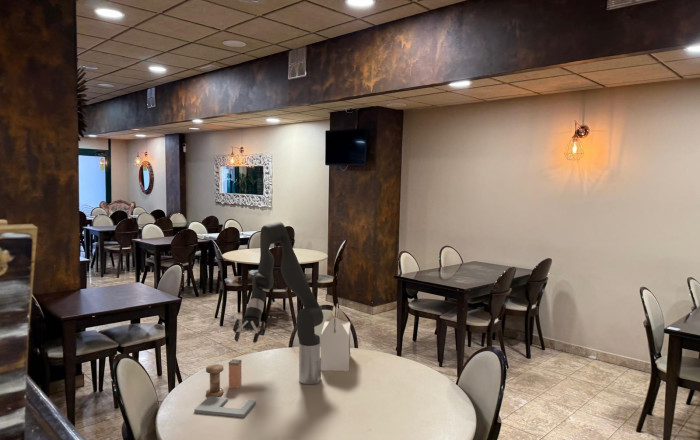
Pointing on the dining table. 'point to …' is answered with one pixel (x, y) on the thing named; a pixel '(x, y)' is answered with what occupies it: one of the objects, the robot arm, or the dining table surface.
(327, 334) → the gable box
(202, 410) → the notched board
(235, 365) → the orange tall block
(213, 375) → the bobbin
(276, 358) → the dining table surface
